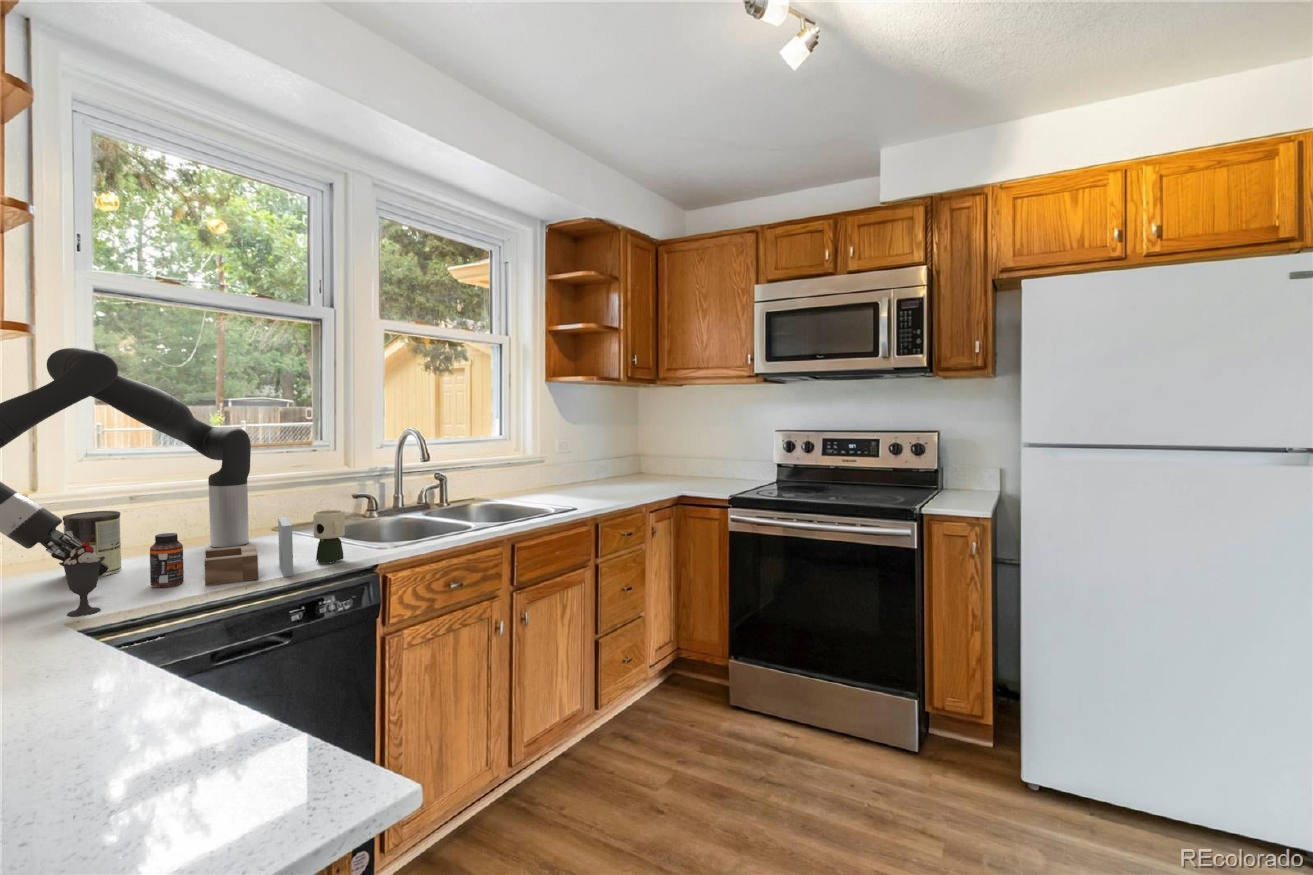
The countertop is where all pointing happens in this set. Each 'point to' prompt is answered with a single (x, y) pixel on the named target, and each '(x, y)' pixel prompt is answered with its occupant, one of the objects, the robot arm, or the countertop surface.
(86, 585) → the sundae
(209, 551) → the walnut u-shaped holder
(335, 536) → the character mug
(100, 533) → the coffee can
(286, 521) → the board
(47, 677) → the countertop surface
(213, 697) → the countertop surface
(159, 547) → the supplement bottle
